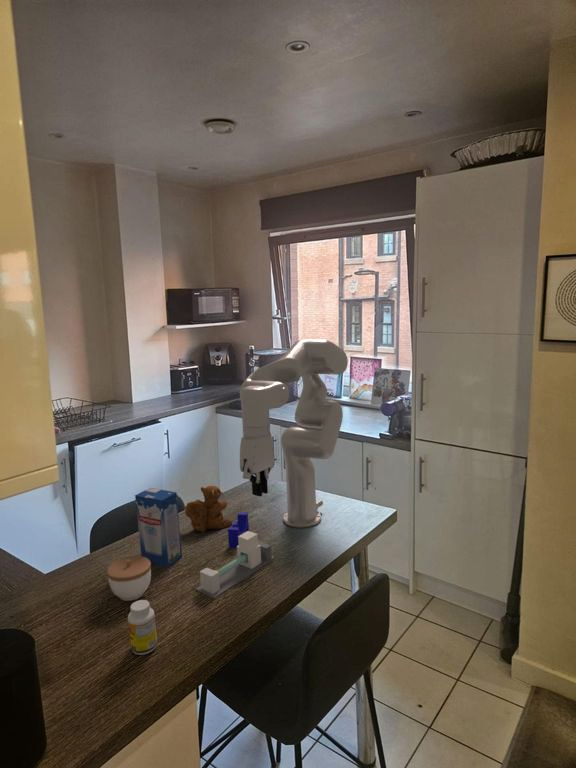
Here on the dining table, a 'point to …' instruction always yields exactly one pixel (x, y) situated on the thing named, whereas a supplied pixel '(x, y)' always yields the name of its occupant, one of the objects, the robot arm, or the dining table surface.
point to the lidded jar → (129, 577)
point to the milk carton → (159, 526)
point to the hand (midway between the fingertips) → (260, 493)
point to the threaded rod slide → (230, 573)
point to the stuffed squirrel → (207, 511)
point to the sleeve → (249, 549)
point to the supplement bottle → (142, 628)
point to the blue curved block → (238, 529)
